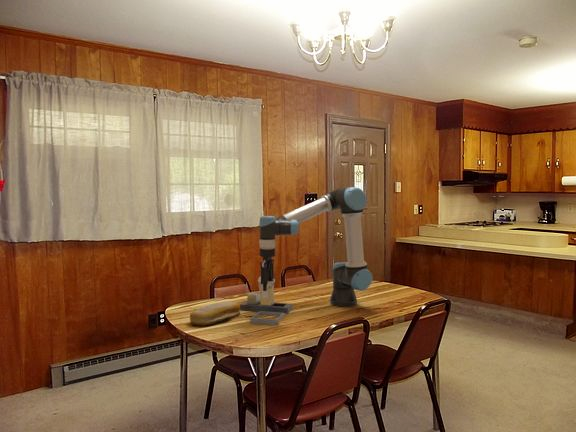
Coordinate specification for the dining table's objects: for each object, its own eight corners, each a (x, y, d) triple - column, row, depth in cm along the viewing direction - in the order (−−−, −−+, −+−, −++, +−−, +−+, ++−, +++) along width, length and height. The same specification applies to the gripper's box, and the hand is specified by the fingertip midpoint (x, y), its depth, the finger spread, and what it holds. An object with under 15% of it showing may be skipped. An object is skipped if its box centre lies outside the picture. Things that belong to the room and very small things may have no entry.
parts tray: (284, 317, 217) (284, 313, 217) (276, 325, 205) (276, 320, 205) (259, 315, 221) (259, 311, 221) (250, 323, 209) (250, 318, 208)
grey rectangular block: (259, 308, 233) (259, 293, 232) (256, 310, 228) (256, 295, 227) (250, 307, 234) (250, 292, 234) (247, 309, 229) (247, 294, 229)
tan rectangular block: (273, 302, 214) (273, 286, 214) (270, 305, 209) (270, 288, 209) (264, 302, 216) (264, 285, 215) (260, 304, 211) (260, 287, 210)
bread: (245, 317, 220) (245, 301, 220) (204, 329, 200) (204, 312, 199) (227, 312, 229) (226, 297, 228) (185, 324, 208) (185, 307, 208)
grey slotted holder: (292, 311, 230) (292, 303, 230) (287, 315, 221) (287, 307, 221) (246, 307, 237) (246, 300, 237) (239, 312, 228) (239, 304, 228)
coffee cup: (272, 306, 239) (272, 279, 238) (255, 305, 241) (255, 278, 240) (276, 302, 249) (276, 276, 248) (260, 301, 250) (260, 275, 250)
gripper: (266, 245, 221) (266, 291, 222) (253, 250, 204) (253, 299, 205) (280, 246, 219) (280, 292, 220) (268, 250, 202) (268, 300, 203)
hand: (267, 296), depth 212 cm, fingers closed on tan rectangular block, 5 cm apart
